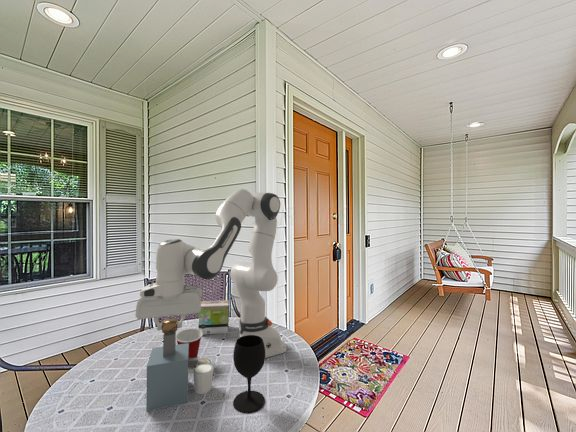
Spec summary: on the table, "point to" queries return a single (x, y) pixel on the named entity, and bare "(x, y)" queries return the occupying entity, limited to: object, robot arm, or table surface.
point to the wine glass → (249, 371)
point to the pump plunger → (169, 325)
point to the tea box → (214, 317)
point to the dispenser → (168, 374)
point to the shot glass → (203, 378)
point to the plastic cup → (190, 340)
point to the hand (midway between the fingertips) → (169, 328)
